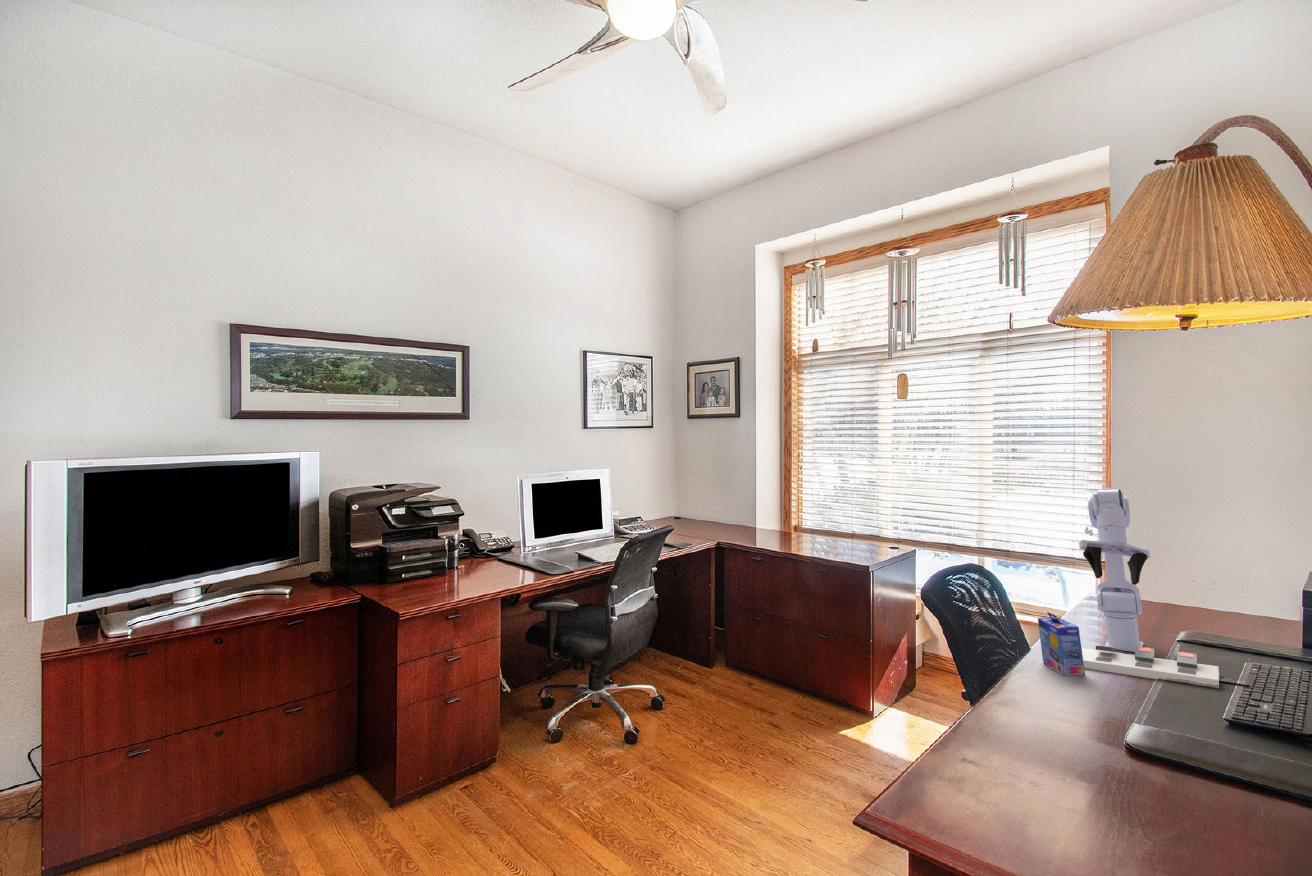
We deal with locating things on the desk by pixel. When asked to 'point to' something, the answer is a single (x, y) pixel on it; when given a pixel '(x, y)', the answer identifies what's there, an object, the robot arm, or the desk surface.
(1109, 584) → the robot arm
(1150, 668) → the power strip
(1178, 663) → the block
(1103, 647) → the rocker far end
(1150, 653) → the rocker middle
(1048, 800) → the desk surface
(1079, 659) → the ink cartridge box
